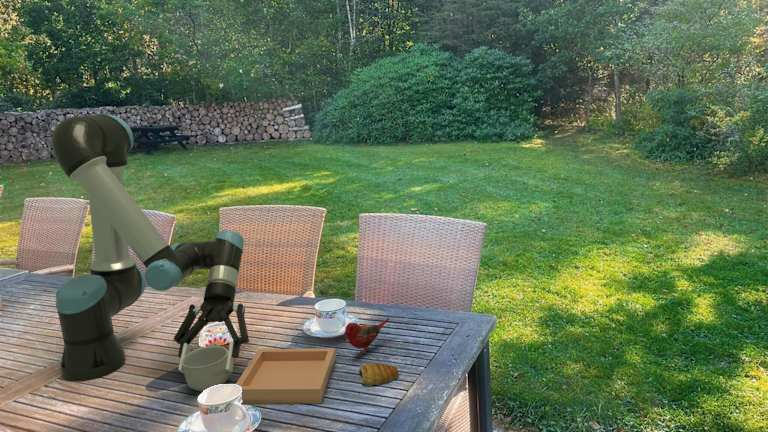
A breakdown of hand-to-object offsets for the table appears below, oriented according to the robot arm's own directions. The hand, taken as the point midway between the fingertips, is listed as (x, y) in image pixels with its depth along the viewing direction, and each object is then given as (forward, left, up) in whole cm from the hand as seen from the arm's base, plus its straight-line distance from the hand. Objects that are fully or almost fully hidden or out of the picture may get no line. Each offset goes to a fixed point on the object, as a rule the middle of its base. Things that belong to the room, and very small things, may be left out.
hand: (205, 371), depth 135 cm
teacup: (0, +2, -4) cm, 5 cm away
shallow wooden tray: (+19, +3, -4) cm, 20 cm away
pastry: (+40, +4, -5) cm, 41 cm away
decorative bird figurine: (+37, +19, -4) cm, 42 cm away
